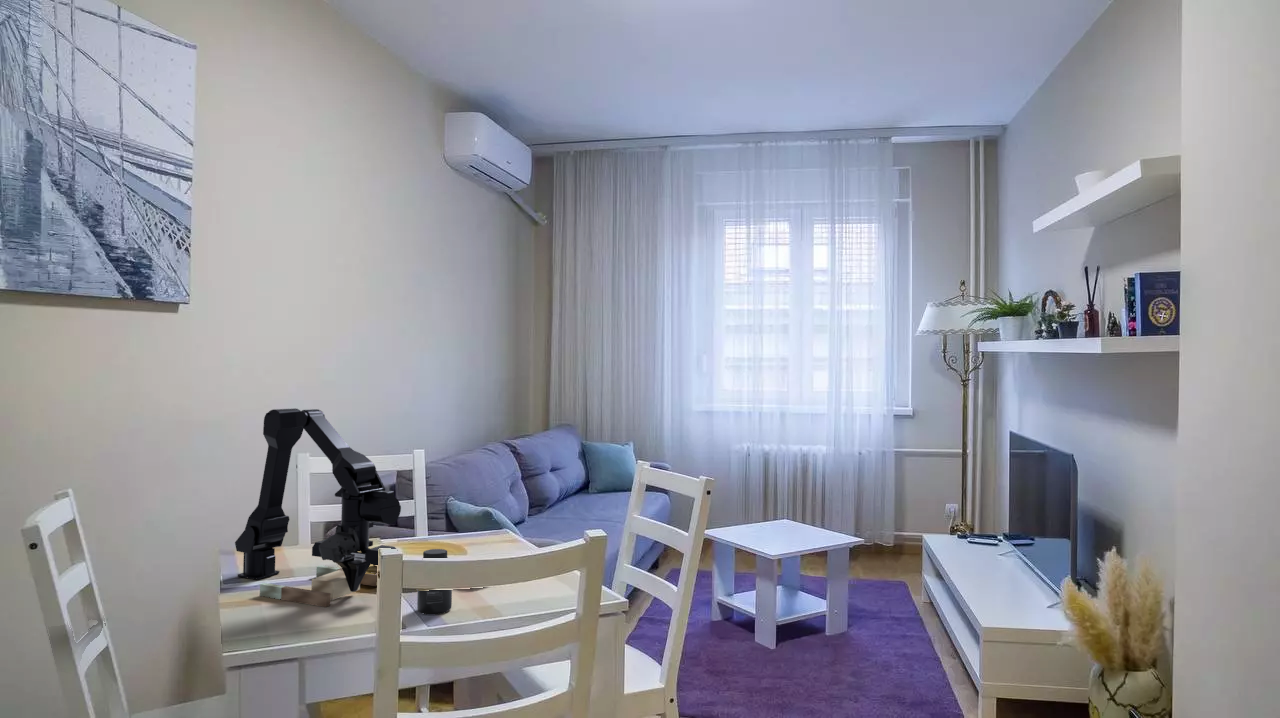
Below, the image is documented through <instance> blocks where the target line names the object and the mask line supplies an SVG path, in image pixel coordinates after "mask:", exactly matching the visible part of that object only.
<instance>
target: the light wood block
mask: <svg viewBox="0 0 1280 718" xmlns="http://www.w3.org/2000/svg"><path fill="white" fill-rule="evenodd" d="M311 590H313V591H319V592H325V593H331V595H330V600H333V601H334V600H337V599H340V598H341V597H344V596H347V595H350V594H353V593H354V592H351V591H350V589H349V586H348V583H347V580H346V577H345V574H344V572H343V571H341V570H338V571H335V572H332V573H329V574H326V575H323V576H320V577H315V578H312V579H311ZM360 590H361V584H360V585H359V587H358V589H357V591H356V592H358V591H360Z"/></svg>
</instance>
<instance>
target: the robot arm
mask: <svg viewBox="0 0 1280 718" xmlns="http://www.w3.org/2000/svg"><path fill="white" fill-rule="evenodd" d="M333 426H334V425H332V424H331V423H330V422H329V420H328V419H327V418H326V416H325V413H324V411H322V410H320V409H319V408H318V409H313V408H312V409H311V408H310V409H302V410H301V409H298V408H276V409H275V408H274V409H271V410H269V411H268V412H266V413H265V415H264V417H263V430H262V431H263V432H262V434H263V437H264V439H265V441H266V443H267V453H266V456H265V457H266V458H265V464H264V470H263V475H262V481H261V488H260V493H259V498H258V504H257V506H256V507H255V508H254V510H253V511H252V512H251V513H250V515H249V516H248V518H247V521H246V524H245V528H244V530H243V532H242V533H241V534H240V535H239V537H237V538H236V541H235V542H234V545H235V549H236V551H237V552H239V553H243V564H242V567H243V568H242V569H243V570H242V572H240V573H238V574H237V575H236V577H238V578H243V579H250V580H258V581H259V580H262V579H264V578H268V577H271V576H274V575H277V574H280V570H278V569H277V570H276V554H275V552H276V551H275V548H278V547H282V545H283V541H284V538H285V536H286V533H288V532H289V531H288V529H289V528H288V525H289V522H290V516H289V515H286V514H285V511H284V509H283V503H284V502H283V501H284V495H285V490H286V485H287V480H288V479H287V478H288V473H289V468H290V462H291V456H292V450H293V447H294V446H295V445H297V442H298V441H299V440H300V439H301V437H302V436H303V432H304V431H305V432H306V433H307V434H308V436H309V437H310V438H311V439H312V441H313V442H314V443H315V444H316V446H317V447H318V448H319V449H320V450H321V452H322V453H323V455H325V457H326V458H327V459H328V460H329V462H330V464H331V465H332V467H331V468H332V470H331V471H332V472H331V473H332V474H333V475H332V476H334V478H335V479H336V481H337V483H338V484H339V486H340V489H338V490H337V491H336V492H335V493H334V497H336V498H341V517H340V519H341V520H340V521H341V522H340V523H339V524H337V525H336V527H335V533H334V534H332V535H330V536H329V537H327V538H326V539H323V540H320V541H316V542H314V544H313V545H312V548H311V557H316V558H317V557H318V558H321V560H323V561H326V560H327V561H332V563H334V564H337V566H339V567H340V568H342V570H343V572H344V574H345V577H346V580H347V583H348V586H349V589H350V591H351V592H353V593H355V592H358V591H357V589H358V587H359V585H360V586H361V584H360V583H361V581H362V579H363V577H364V575H365V573H366V572H368V570H369V568H370V566H371V565H373V566H374V565H378V549H379V548H391V549H397V547H395V546H390V545H383V544H382V545H378V546H374V547H372V546H373V545H374V541H373V540H370V528H373V527H374V523H377V524H378V523H379V524H384V525H392V524H394V523H395V522H396V521H397V520H398V519H399V517H400V515H401V511H402V506H401V503H400V501H399V499H398V498H397V497H395V491H394V490H387V491H386V487H385V485H384V483H383V480H381V477H380V475H379V473H378V471H377V468H376V466H375V464H374V463H373V461H372V460H371V459H369V458H368V457H367V456H366V455H364V454H363V453H361V452H359V451H356V450H355V449H353V448H352V447H350V446H349V444H348V443H347V442H346V441H345V440H344V438H343V437H342V436H341V435H340V434H339V432H338V431H337V430H336V429H335V428H334V427H333ZM370 547H372V548H370Z"/></svg>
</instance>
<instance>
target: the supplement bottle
mask: <svg viewBox="0 0 1280 718" xmlns="http://www.w3.org/2000/svg"><path fill="white" fill-rule="evenodd" d="M422 554H423V555H422V556H423V557H422V559H423V558H449V557H448V550H446V549H443V548H432V549H427V550H424V551H423V553H422ZM416 594H417V595H416V596H417V597H416V598H417V601H416V602H417V603H416V604H417V605H416V607H417V608H416V609H417V611H418V613H419V614H422V613H424V614H423V615H427V614H435V615H441V614H440V613H442V614H445V613H448V612H449V611H451V609H452V604H453V603H452V602H453V601H452V598H453V597H452V596H453V595H452V594H453V589H452V590H429V591H418V590H417V593H416ZM447 611H448V612H447ZM444 612H445V613H444Z"/></svg>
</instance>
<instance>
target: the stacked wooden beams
mask: <svg viewBox="0 0 1280 718" xmlns="http://www.w3.org/2000/svg"><path fill="white" fill-rule="evenodd" d="M338 570H341V571H343V570H342V568H341V567H334V566H327V565H317V566H316V570H315V571H316V572H315V573H316V575H315V578H317V577H320V576H323V575H326V574H329V573H332V572H335V571H338ZM375 573H376V572H375ZM376 582H377V573H376V574H375V575H374V574H365V575H364V577H363V579H362V581H361V583H360V585H363V586H364V585H366V586H372V587H377V586H376ZM330 595H331V593H325V592H319V591H313V590H310V589H306V588H299V587H294V586H287V585H281V584H274V583H267V582H263V583H260V584H259V596H260V597H263V596H265V597H264V598H269V597H270V599H274V598H275V599H276V600H280V599H281V601H287V602H293V603H300V604H306V605H310V606H317V607H323V608H327V607H330V606H331V599H330Z"/></svg>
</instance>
